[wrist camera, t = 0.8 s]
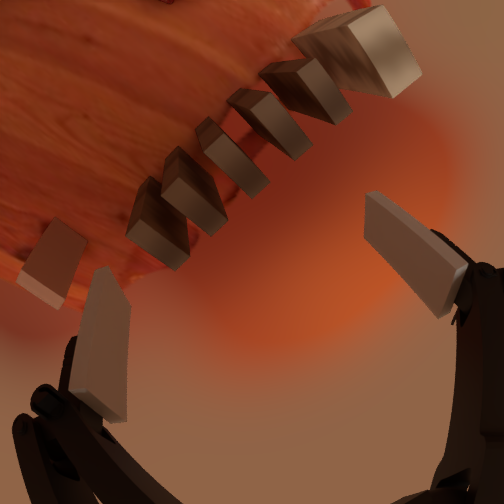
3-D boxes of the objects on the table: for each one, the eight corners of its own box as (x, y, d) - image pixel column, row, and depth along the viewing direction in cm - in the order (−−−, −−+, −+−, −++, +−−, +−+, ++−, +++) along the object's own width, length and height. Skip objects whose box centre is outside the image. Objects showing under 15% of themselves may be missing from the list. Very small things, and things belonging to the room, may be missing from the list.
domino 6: (257, 73, 29) (296, 71, 20) (271, 62, 29) (315, 57, 19) (288, 109, 33) (336, 125, 23) (301, 98, 32) (353, 111, 23)
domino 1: (48, 227, 33) (15, 281, 23) (55, 216, 32) (21, 269, 23) (80, 251, 36) (58, 310, 26) (87, 241, 36) (65, 299, 26)
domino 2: (138, 188, 34) (125, 236, 24) (150, 175, 33) (139, 219, 24) (173, 216, 37) (175, 271, 27) (185, 204, 37) (190, 256, 27)
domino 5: (226, 100, 30) (250, 109, 21) (240, 88, 30) (270, 92, 20) (258, 134, 34) (294, 160, 24) (272, 123, 33) (313, 144, 24)
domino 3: (165, 158, 33) (160, 195, 23) (178, 145, 32) (178, 176, 22) (200, 189, 36) (210, 236, 26) (212, 177, 35) (228, 220, 26)
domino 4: (194, 129, 32) (203, 152, 22) (208, 116, 31) (223, 133, 21) (228, 161, 35) (252, 198, 25) (242, 149, 34) (270, 182, 25)
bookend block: (290, 39, 27) (347, 25, 17) (319, 20, 26) (382, 4, 16) (328, 87, 32) (392, 98, 21) (353, 67, 31) (422, 74, 20)
